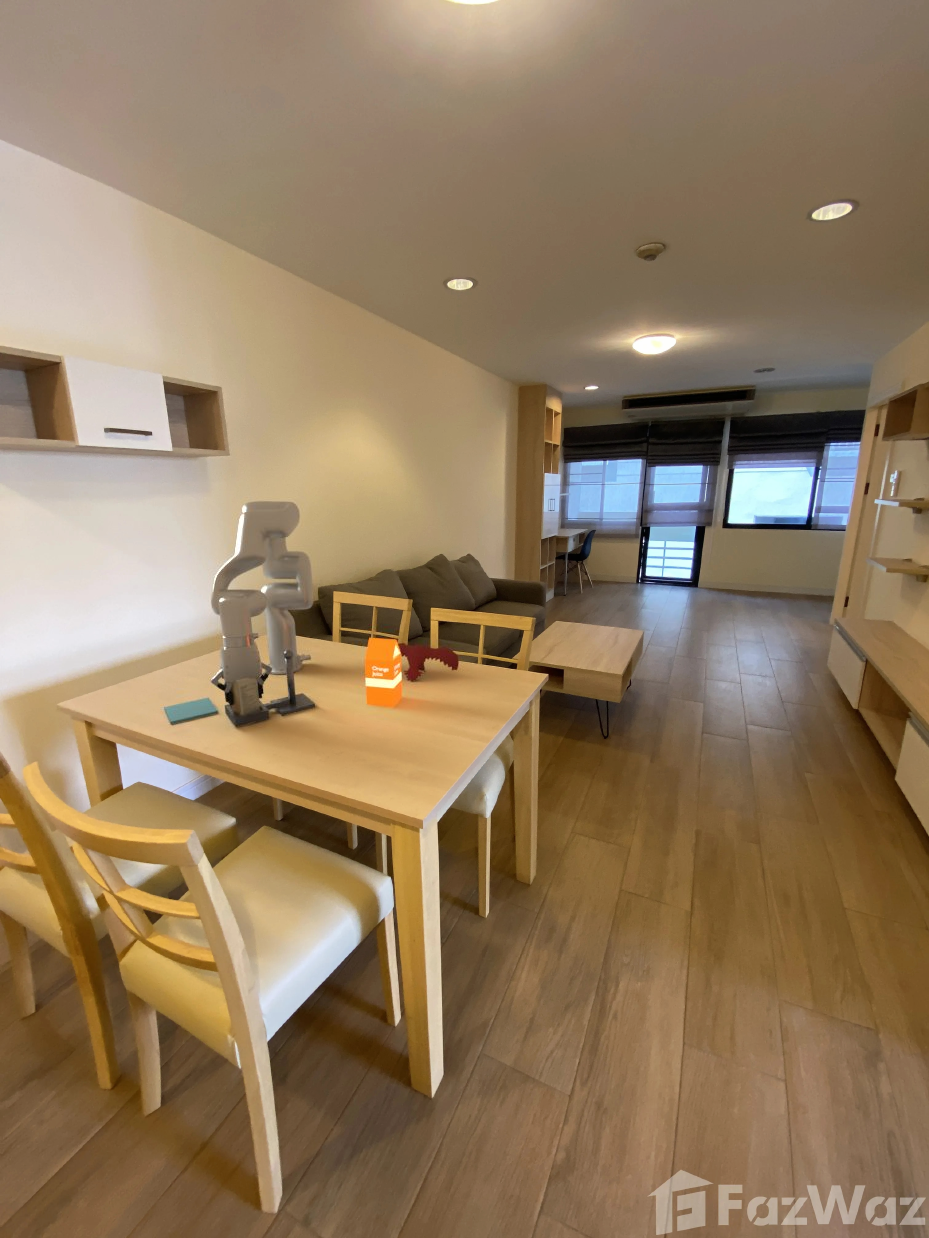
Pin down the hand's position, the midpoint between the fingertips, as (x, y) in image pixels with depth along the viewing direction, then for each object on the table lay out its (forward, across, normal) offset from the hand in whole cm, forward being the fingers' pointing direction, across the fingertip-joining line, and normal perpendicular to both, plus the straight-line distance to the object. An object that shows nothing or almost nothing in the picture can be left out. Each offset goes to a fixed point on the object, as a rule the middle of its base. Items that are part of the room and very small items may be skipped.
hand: (245, 699), depth 141 cm
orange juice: (+6, -37, +13) cm, 40 cm away
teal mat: (+5, +12, -14) cm, 19 cm away
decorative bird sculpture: (+6, -57, +1) cm, 57 cm away
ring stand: (+5, -7, 0) cm, 9 cm away
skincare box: (+5, 0, 0) cm, 5 cm away
